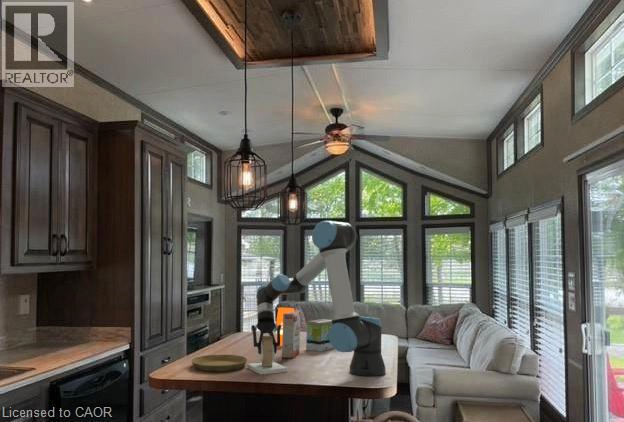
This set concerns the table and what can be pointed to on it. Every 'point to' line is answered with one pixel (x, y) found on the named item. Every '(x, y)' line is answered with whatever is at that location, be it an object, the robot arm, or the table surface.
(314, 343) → the tea box
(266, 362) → the block
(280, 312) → the orange juice
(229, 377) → the table surface
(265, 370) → the board
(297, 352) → the cracker box
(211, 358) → the plant saucer
